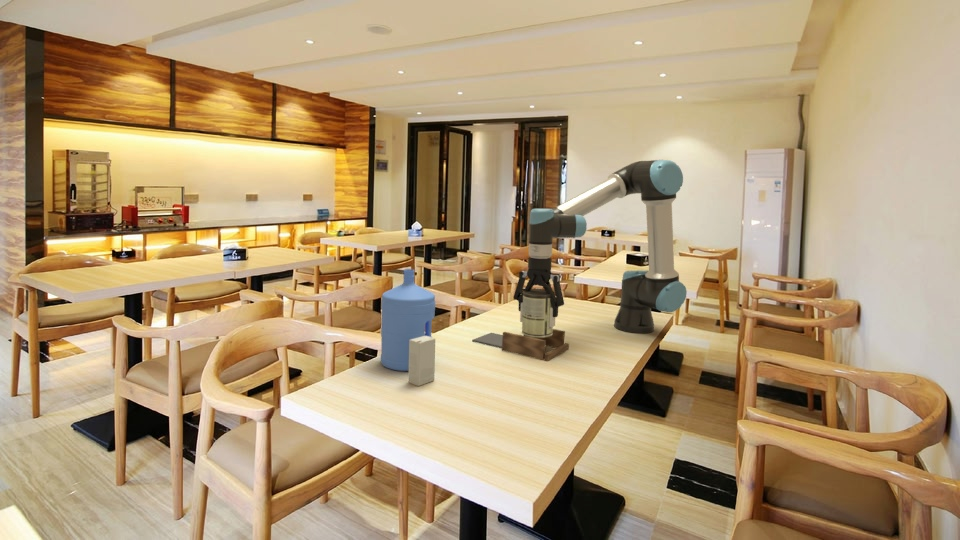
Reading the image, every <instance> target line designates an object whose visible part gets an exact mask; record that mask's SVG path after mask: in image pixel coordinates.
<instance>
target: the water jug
mask: <svg viewBox="0 0 960 540" xmlns="http://www.w3.org/2000/svg"><path fill="white" fill-rule="evenodd" d="M380 308H381V328H380V336H381V337H380V338H381V340H380V341H381V345H380V346H381V347H380V348H381V349H380V350H381V354H380V363H381V364H382V366H384V367H385V368H386V369H390V370H394V371H398V372H409V340H411V339H414V338H418V337H422V336H429V337H432V338H433V336H432V320H433V319H434V318H435V314H436V313H435V311H436V295H435V293H434V292H432V291H429V290H427V289H425V288H423V287H422V286H419V285H417V284H416V283H415V269H411V268H408V269H407V268H406V269H403V282H402V284H400V285H398V286H395V287H393V288H391V289H389V290H387V291H385V292H383V293H382V295H381V305H380Z"/></svg>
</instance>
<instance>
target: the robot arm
mask: <svg viewBox="0 0 960 540" xmlns="http://www.w3.org/2000/svg"><path fill="white" fill-rule="evenodd" d="M683 183H684V174H683V172H682V169H681V167H680V166H679V165H678V164H677V163H676V162H675V161H672V160H668V159H655V160H654V159H653V160H652V159H651V160H638V161H635V162H632V163H630V164H627V165H626V166H624V167H622V168H620V169H618V170H616V171H613V173H611V174H609V175H608V176H607V179H605V180H603V181H602V182H600V183H598V184H596V185H594V186H593V187H591V188H589V189H587V190H585V191H583V192H581V193H579V194H577V195H575V196H574V197H572V198H570V199H568V200H566V201H565V202H563V203H561V204H559V205H557V206H555V207H553V208H532V209H531V210H530V211H529V212H530V213H529V221H528V225H529V227H528V228H529V229H528V253H527V254H528V259H527V269H528V270H527V271H526V270H522V271H519V272H518V281H517V284H516V288H515V292H514V294H513V300H516V301H517V302H518V308H517V309H518V312H519V313H520V315H519V316H520V317H519V318H520V319H519V321H520V323H522V315H523V291H526V292H527V291H530V290H531V289H533V287H534V286H539V287H542V289H545V291H546V293H547V294H553V293H554V295H551V297H550V302H551V304H552V307H550V321H549V327H555V326H556V318H557V317H558V316H559V308H560V307H562V306H564V305H565V300H564V297H563V291H562V288H561V287H562V286H561V275H559V274H552V262H553V261H552V256H553V239H558V238H559V239H565V238H566V239H567V238H570V239H575V238H582V237H584V236H585V234H586V232H587V229H588V227H587V220H586V217H585V216H586V215H588V214H590V213H591V212H593V211H595V210H597V209H598V208H601V207H602V206H604V205H606V204H608V203H610V202H611V201H614V200H615V199H617V198H618V199H623V198H625V197H627V196H629V195H635V194H640V199H641V203H644V205H645V210H646V211H645V212H646V214H645V215H646V231H647V232H646V233H647V235H646V236H647V251H648V253H647V254H648V270H642V269H641V270H639V269H638V270H626V271H624V272H623V274H622V279H621V291H620V304H619V305H620V306H619V310H618V312H617V314H616V317H615V319H614V323H613V326H614V329H616V330H620V331H623V332H628V333H634V334H635V333H636V334H648V333H653V332H654V331H655V323H654V318H653V313H652V309H655V310H658V311H660V312H664V313H673V312H676V311H678V309H680V308H681V307H682V305H684V303H685V301H686V298H687V295H688V294H687V288H686V285H684V283H683V282H681V281H680V274H679V272H678V271H677V270H676V269H675V261H674V259H675V258H674V256H675V254H674V229H673V226H674V225H673V205H672V204H673V202H675V201H676V199H677V193H679V191H680V190H681V187H682V186H683ZM527 277H528V279H529V280H528V281H527V283H526V278H527ZM550 280H551V282H552V284H553V288H552V284H551V282H550ZM525 283H526V286H525V287H524V285H525Z"/></svg>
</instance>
